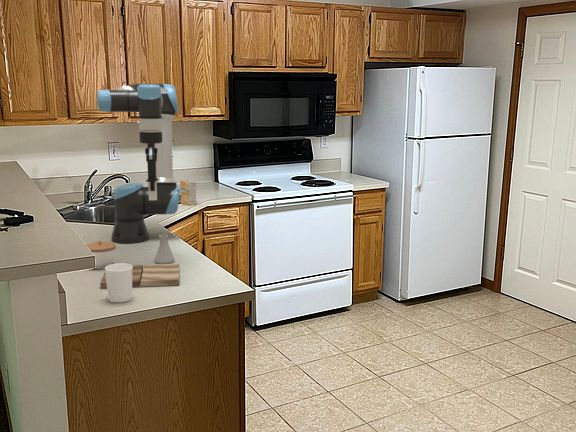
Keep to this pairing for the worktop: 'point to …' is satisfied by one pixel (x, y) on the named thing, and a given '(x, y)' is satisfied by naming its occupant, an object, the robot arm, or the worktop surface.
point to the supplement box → (188, 192)
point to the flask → (164, 251)
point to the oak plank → (160, 275)
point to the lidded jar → (103, 253)
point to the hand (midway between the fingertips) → (153, 199)
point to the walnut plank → (136, 277)
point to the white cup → (119, 282)
